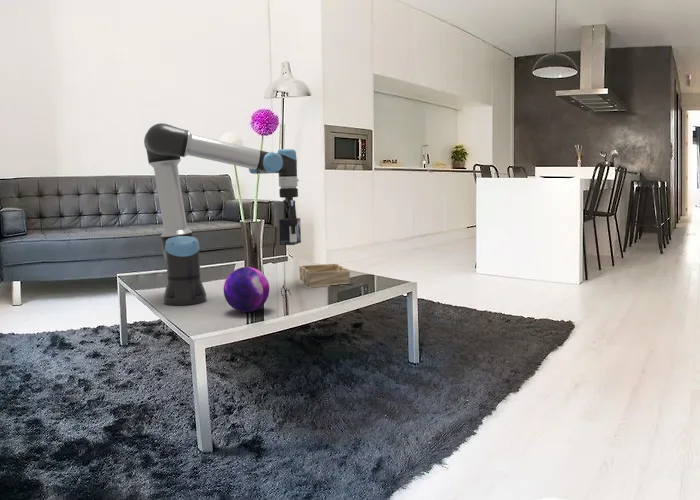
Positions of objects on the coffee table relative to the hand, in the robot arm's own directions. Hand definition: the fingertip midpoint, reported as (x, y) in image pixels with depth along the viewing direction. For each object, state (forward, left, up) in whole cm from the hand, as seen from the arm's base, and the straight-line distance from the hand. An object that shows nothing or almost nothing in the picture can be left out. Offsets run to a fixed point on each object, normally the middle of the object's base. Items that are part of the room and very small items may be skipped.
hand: (290, 240), depth 236 cm
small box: (0, 0, -2) cm, 2 cm away
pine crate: (+2, -14, -19) cm, 24 cm away
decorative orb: (-43, +23, -19) cm, 52 cm away
